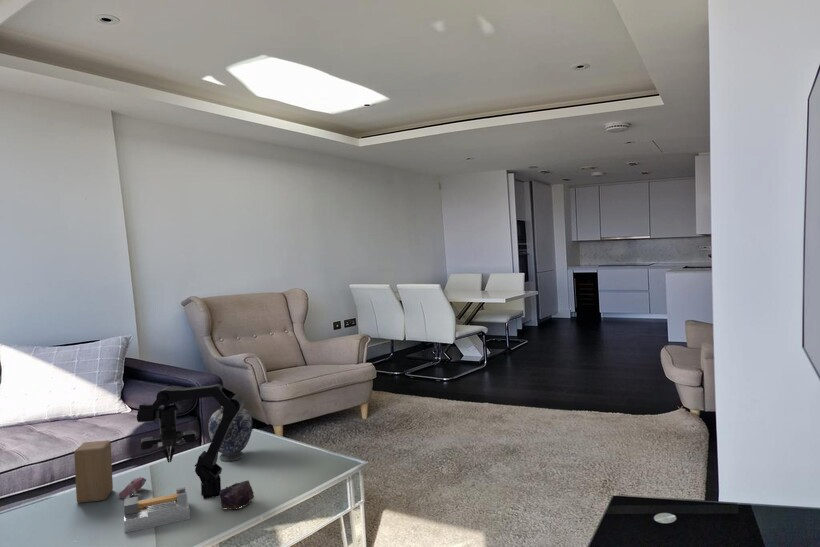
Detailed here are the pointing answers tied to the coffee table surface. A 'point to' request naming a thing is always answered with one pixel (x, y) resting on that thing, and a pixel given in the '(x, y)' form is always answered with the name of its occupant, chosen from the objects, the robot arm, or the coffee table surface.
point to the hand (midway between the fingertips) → (169, 462)
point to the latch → (131, 505)
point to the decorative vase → (232, 434)
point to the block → (93, 471)
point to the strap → (157, 500)
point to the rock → (236, 495)
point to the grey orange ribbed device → (159, 513)
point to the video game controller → (132, 487)
